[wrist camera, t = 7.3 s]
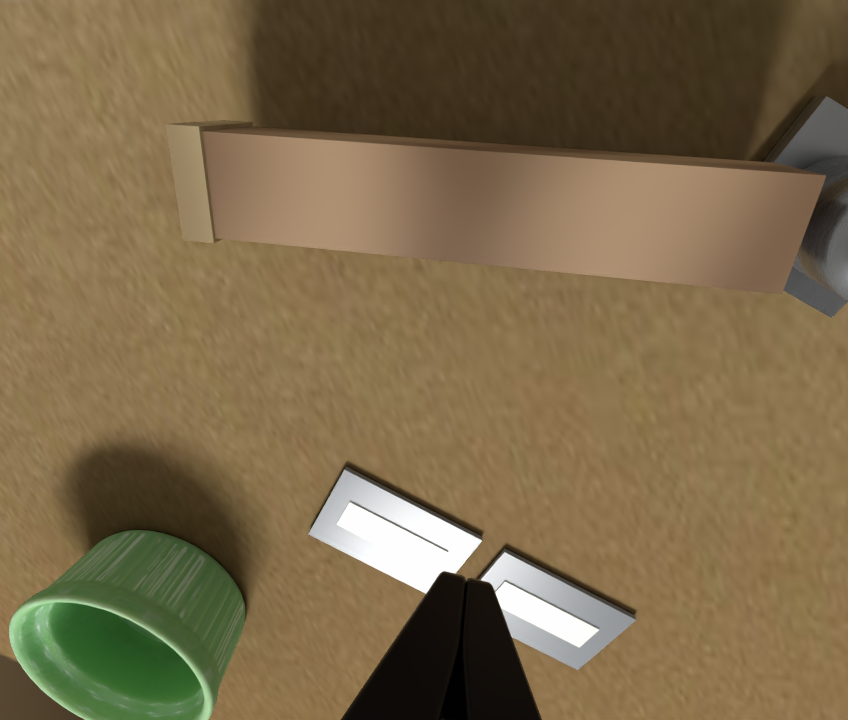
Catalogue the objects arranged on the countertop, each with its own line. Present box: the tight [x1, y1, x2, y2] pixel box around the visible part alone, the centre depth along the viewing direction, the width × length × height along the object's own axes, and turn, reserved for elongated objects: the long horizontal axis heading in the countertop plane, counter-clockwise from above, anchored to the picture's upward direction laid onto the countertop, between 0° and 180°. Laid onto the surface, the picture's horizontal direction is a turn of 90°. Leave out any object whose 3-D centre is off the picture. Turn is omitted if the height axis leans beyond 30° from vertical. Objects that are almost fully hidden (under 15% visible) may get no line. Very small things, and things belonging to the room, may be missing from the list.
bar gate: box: [165, 120, 827, 294], centre depth 13 cm, size 14×3×3 cm, turn 87°
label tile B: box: [309, 467, 482, 593], centre depth 21 cm, size 6×4×1 cm, turn 63°
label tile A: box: [478, 549, 636, 670], centre depth 22 cm, size 6×4×1 cm, turn 63°
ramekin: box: [9, 530, 246, 720], centre depth 24 cm, size 9×9×4 cm
